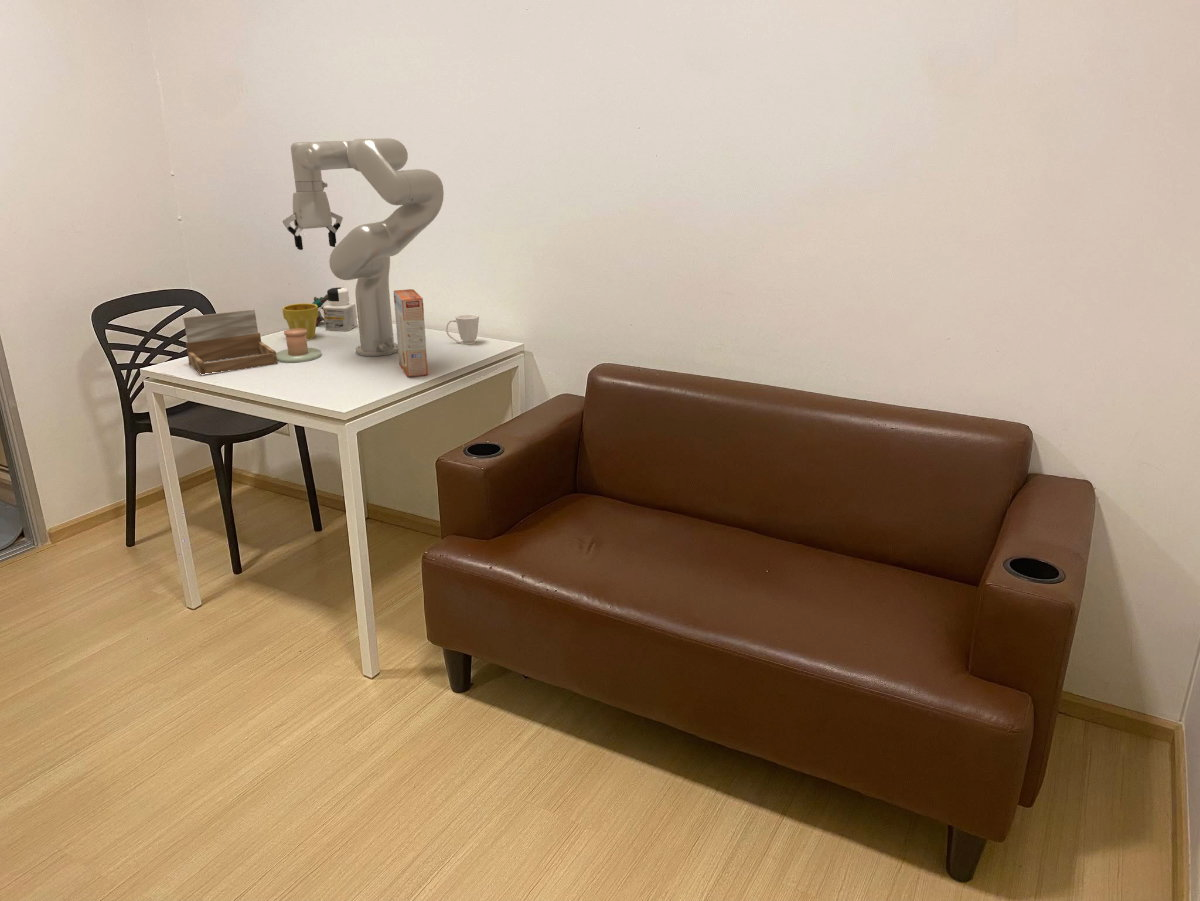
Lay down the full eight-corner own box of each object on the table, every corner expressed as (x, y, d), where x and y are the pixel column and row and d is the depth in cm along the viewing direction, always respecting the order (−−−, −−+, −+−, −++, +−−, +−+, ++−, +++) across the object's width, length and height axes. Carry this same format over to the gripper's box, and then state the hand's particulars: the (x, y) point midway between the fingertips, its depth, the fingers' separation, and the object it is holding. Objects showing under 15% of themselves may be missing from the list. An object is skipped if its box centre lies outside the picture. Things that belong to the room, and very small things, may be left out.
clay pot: (312, 353, 254) (309, 331, 251) (290, 357, 250) (287, 334, 248) (305, 349, 258) (302, 327, 256) (284, 352, 255) (281, 330, 253)
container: (325, 330, 285) (320, 290, 280) (335, 325, 292) (331, 285, 287) (347, 331, 284) (343, 291, 279) (358, 326, 291) (353, 286, 286)
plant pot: (315, 341, 271) (311, 310, 268) (281, 341, 272) (277, 310, 268) (325, 333, 281) (321, 303, 278) (293, 333, 281) (289, 303, 278)
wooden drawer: (277, 363, 248) (271, 317, 243) (202, 375, 237) (193, 327, 232) (261, 352, 259) (255, 308, 255) (189, 363, 248) (181, 317, 244)
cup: (479, 345, 266) (478, 318, 263) (446, 346, 265) (444, 319, 262) (481, 339, 273) (479, 313, 270) (448, 340, 272) (446, 314, 269)
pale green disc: (327, 357, 253) (327, 354, 253) (282, 365, 246) (281, 361, 246) (312, 348, 263) (312, 345, 263) (268, 355, 256) (267, 352, 256)
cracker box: (429, 375, 236) (423, 297, 228) (406, 378, 234) (400, 299, 226) (420, 362, 248) (414, 288, 241) (398, 364, 246) (392, 289, 239)
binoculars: (324, 327, 298) (304, 303, 295) (346, 312, 297) (326, 287, 294) (318, 334, 290) (298, 309, 286) (341, 318, 289) (321, 293, 285)
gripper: (334, 185, 262) (340, 244, 268) (274, 188, 253) (282, 249, 259) (343, 186, 256) (349, 246, 263) (283, 190, 247) (291, 252, 253)
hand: (316, 247), depth 261 cm, fingers open, 9 cm apart
